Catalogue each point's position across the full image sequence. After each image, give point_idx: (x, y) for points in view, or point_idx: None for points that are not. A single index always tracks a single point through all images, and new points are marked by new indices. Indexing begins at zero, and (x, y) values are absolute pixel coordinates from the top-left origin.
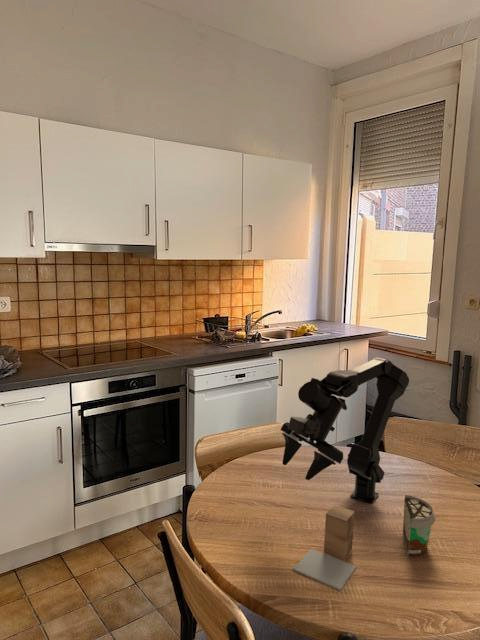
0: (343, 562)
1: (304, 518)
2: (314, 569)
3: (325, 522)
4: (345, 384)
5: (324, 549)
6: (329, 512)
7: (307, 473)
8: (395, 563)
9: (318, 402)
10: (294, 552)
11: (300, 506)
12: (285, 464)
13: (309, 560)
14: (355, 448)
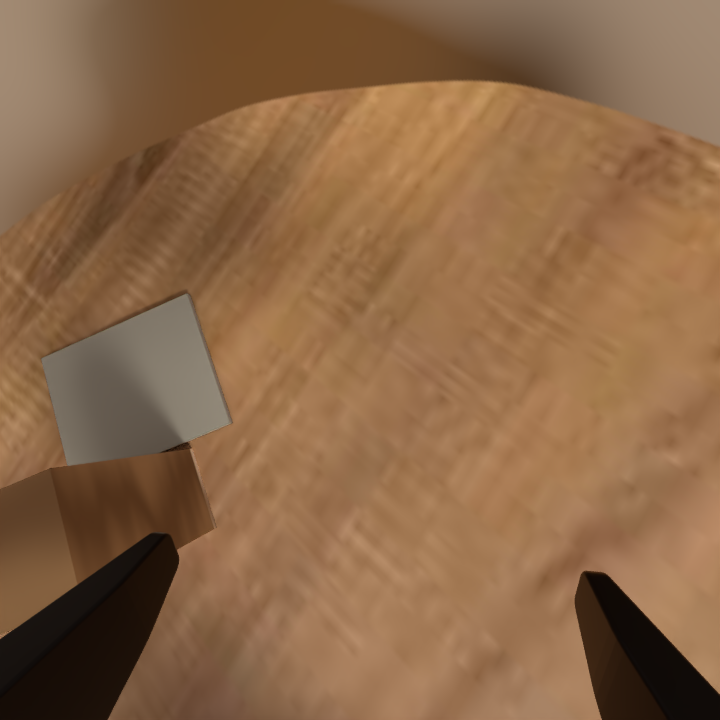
0: None
1: (418, 570)
2: (144, 350)
3: (94, 462)
4: None
5: (180, 451)
6: (45, 498)
7: (116, 573)
8: None
9: None
10: (257, 360)
11: (519, 640)
12: (577, 603)
13: (185, 368)
14: None
